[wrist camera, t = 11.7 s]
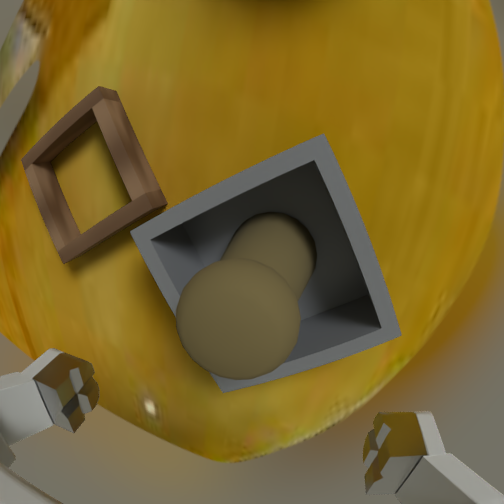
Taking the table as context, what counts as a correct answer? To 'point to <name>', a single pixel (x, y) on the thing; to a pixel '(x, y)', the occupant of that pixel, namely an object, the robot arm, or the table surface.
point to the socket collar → (124, 155)
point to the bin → (321, 229)
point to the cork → (249, 299)
